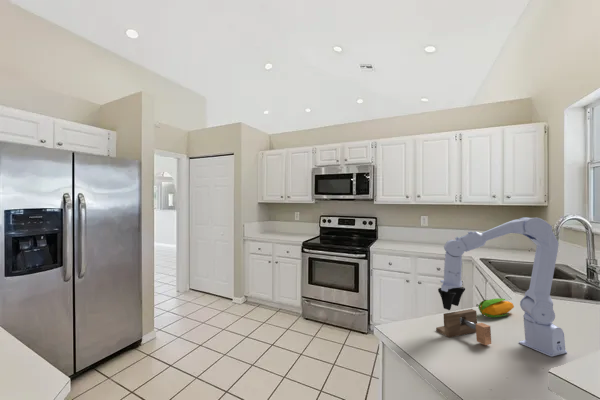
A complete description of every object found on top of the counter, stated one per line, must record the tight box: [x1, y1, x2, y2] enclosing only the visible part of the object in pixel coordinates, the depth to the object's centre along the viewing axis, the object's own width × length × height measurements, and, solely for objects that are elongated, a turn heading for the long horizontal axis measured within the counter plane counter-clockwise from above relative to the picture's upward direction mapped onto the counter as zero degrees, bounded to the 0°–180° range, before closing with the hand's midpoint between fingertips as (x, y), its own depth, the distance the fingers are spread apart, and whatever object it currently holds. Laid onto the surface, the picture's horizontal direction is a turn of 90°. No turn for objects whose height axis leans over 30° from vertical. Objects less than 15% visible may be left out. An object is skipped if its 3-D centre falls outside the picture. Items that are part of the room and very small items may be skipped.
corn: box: [477, 297, 515, 319], centre depth 114 cm, size 7×8×20 cm
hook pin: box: [460, 318, 492, 346], centre depth 94 cm, size 13×3×6 cm, turn 16°
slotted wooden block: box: [435, 308, 478, 339], centre depth 100 cm, size 6×14×8 cm, turn 106°
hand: (451, 307), depth 97 cm, fingers open, 7 cm apart
